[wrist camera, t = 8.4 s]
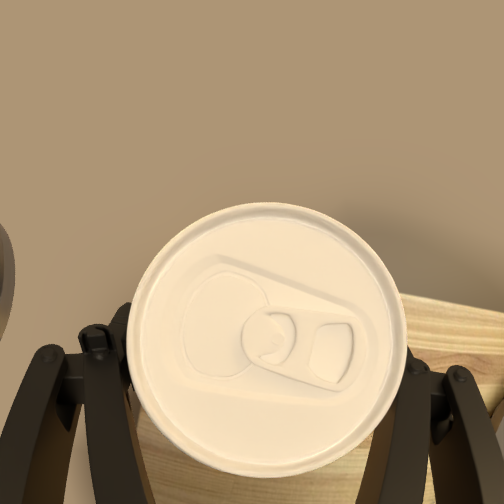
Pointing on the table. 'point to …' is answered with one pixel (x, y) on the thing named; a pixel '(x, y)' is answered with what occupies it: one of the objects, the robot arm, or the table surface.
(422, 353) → the table surface
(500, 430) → the flat disc
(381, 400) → the beverage can
